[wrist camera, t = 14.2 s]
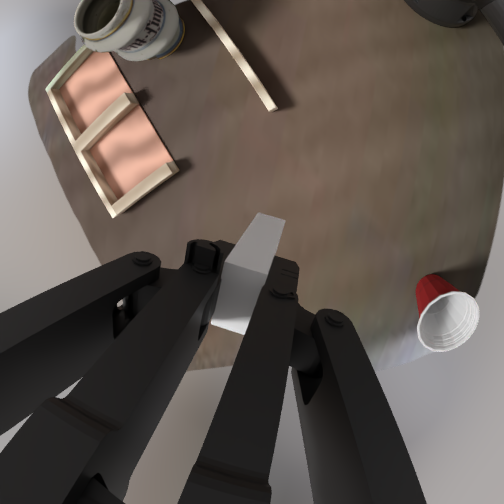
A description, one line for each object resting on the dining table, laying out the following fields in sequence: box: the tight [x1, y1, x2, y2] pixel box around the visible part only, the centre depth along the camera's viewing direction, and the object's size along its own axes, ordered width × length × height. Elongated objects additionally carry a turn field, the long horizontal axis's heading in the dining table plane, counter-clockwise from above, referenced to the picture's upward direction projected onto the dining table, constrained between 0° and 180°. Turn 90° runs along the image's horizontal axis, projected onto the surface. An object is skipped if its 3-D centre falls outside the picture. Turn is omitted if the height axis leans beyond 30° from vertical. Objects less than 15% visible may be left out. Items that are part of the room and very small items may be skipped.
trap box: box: [46, 0, 278, 218], centre depth 44 cm, size 32×34×3 cm
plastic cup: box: [416, 274, 479, 352], centre depth 43 cm, size 11×11×12 cm
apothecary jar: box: [74, 0, 185, 61], centre depth 33 cm, size 12×12×18 cm
